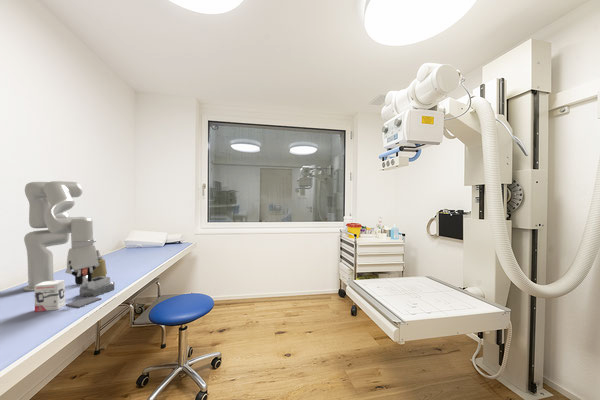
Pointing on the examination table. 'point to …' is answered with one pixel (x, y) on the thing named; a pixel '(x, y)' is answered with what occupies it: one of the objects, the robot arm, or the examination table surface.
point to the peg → (84, 278)
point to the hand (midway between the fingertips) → (83, 282)
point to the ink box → (49, 295)
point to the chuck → (97, 287)
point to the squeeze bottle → (100, 267)
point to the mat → (83, 301)
